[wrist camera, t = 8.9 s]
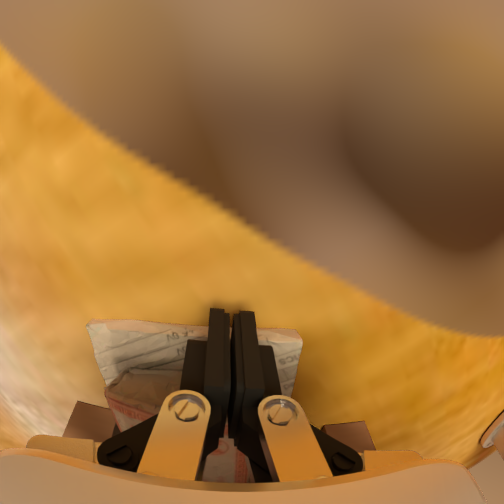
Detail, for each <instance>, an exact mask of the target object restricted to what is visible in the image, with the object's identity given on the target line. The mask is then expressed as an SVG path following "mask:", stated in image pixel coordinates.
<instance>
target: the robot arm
mask: <svg viewBox="0 0 504 504" xmlns="http://www.w3.org/2000/svg"><path fill="white" fill-rule="evenodd" d="M227 411H228V439H234V446H235V447H237V449H238V450H239V451H240V452H242V453H243V454H244V455H245V461H246V465H247V469H248V473H249V476H250V480H251V483H219V482H203V476H204V472H205V467H206V462H207V456H208V455H209V454H210V453H212V452H213V451H215V450H216V449H217V448H218V445H219V438H224V431H225V424H226V418H227ZM480 443H481V445H482V447H483V448H487V447H490V446H492V445H495V447H496V448H497V450H498V451H499V453H500V455H501V457H502V458H503V460H504V412H503V413H502V414H501V415H500V416H499V417H498V418H497V419H496V420H495V421H494V423H493V424H492V425H491V426H490V427H489V429H488V430H487V431H486V432H485V434H484V435H483V437H482V439H481V442H480ZM0 504H488V503H487V501H486V499H485V497H484V495H483V493H482V491H481V489H480V487H479V486H478V484H477V482H476V481H475V479H474V478H473V476H472V475H471V473H470V472H469V471H468V470H467V469H466V468H465V467H464V466H463V465H462V464H460V463H458V462H455V461H451V460H445V459H423V458H422V457H421V456H420V455H419V454H418V453H416V452H415V451H410V450H400V451H367V450H364V451H363V452H362V453H358V452H357V451H355V450H354V449H352V448H351V447H349V446H347V445H345V444H343V443H341V442H340V441H338V440H336V439H334V438H333V437H331V436H329V435H327V434H326V433H324V432H322V431H321V430H319V429H317V428H316V427H314V426H312V425H311V424H309V422H308V420H307V418H306V415H305V413H304V411H303V409H302V407H301V406H300V404H299V403H298V402H297V401H295V400H294V399H292V398H290V397H287V396H283V395H282V391H281V386H280V381H279V376H278V371H277V366H276V361H275V356H274V351H273V347H272V346H271V345H259V344H258V336H257V329H256V322H255V315H254V312H252V311H239V314H234V316H233V324H232V332H231V339H230V314H229V313H224V309H216V308H210V317H209V328H208V340H207V341H201V340H191V339H188V340H187V345H186V351H185V357H184V364H183V370H182V377H181V383H180V390H179V391H176V392H173V393H171V394H170V395H169V396H167V397H166V399H165V400H164V402H163V405H162V407H161V410H160V412H159V413H158V414H156V415H154V416H152V417H150V418H148V419H147V420H145V421H143V422H141V423H139V424H137V425H135V426H133V427H131V428H129V429H127V430H125V431H123V432H121V433H119V434H117V435H115V436H113V437H111V438H109V439H107V440H105V441H104V442H102V443H99V442H94V440H91V439H77V438H67V437H58V436H50V435H36V436H34V437H32V438H31V439H30V440H29V441H28V443H27V445H26V448H12V449H5V450H1V451H0Z"/></svg>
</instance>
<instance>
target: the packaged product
mask: <svg viewBox="0 0 504 504" xmlns="http://www.w3.org/2000/svg"><path fill="white" fill-rule="evenodd" d="M86 328H87V330H88V333H89V335H90V338H91V342H92V345H93V348H94V356H95V359H96V361H97V364H98V366H99V369H100V372H101V374H102V376H103V378H104V380H105V383H106V387H104V389H105V397H106V399H107V401H108V404H109V407H110V409H111V411H112V414H113V416H114V419H115V421H116V423H117V425H118V428H119V430H120V432H123V431H125V430H127V429H129V428H131V427H133V426H135V425H137V424H139V423H141V422H143V421H145V420H147V419H148V418H150V417H152V416H154V415H156V414H158V413H159V412H160V410H161V407H162V405H163V402H164V400H165V399H166V397H167V396H169V395H170V394H171V393H173V392H176V391H179V390H180V383H181V377H182V370H183V364H184V357H185V351H186V345H187V340H188V339H191V340H201V341H207V340H208V328H209V327H208V326H195V325H182V324H171V323H160V322H150V321H141V320H119V319H92V320H91V321H90V322H89V323H88V324H87V325H86ZM256 329H257V336H258V344H259V345H271V346H272V347H273V351H274V356H275V361H276V366H277V371H278V376H279V381H280V386H281V391H282V395H283V396H287V397H290V398H291V393H292V390H293V386H294V381H295V377H296V373H297V365H298V361H299V356H300V353H301V350H302V345H303V340H302V339H301V337H300V336H299V334H298V332H297V331H296V330H295V329H284V328H256ZM231 332H232V327H230V339H231ZM203 482H219V483H251V480H250V476H249V473H248V469H247V465H246V461H245V455H244V454H243V453H242V452H240V451H239V450H238V449H237V447H235V446H234V439H228V411H227V418H226V424H225V431H224V438H219V445H218V448H217V449H216V450H215V451H213V452H212V453H210V454H209V455H208V456H207V462H206V467H205V472H204V476H203Z"/></svg>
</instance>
